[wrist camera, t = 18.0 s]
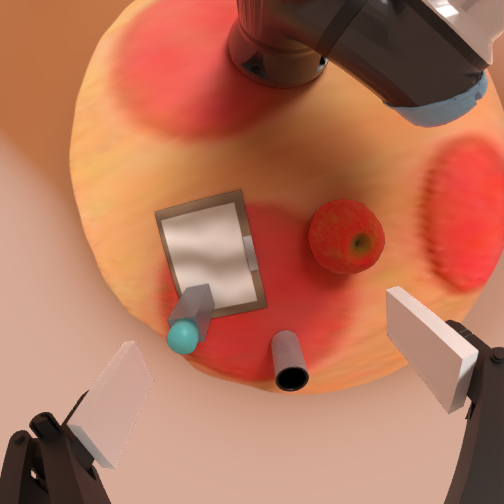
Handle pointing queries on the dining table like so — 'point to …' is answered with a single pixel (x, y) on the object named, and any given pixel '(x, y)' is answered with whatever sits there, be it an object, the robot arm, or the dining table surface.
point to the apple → (345, 237)
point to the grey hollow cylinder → (288, 361)
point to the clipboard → (213, 251)
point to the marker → (190, 319)
